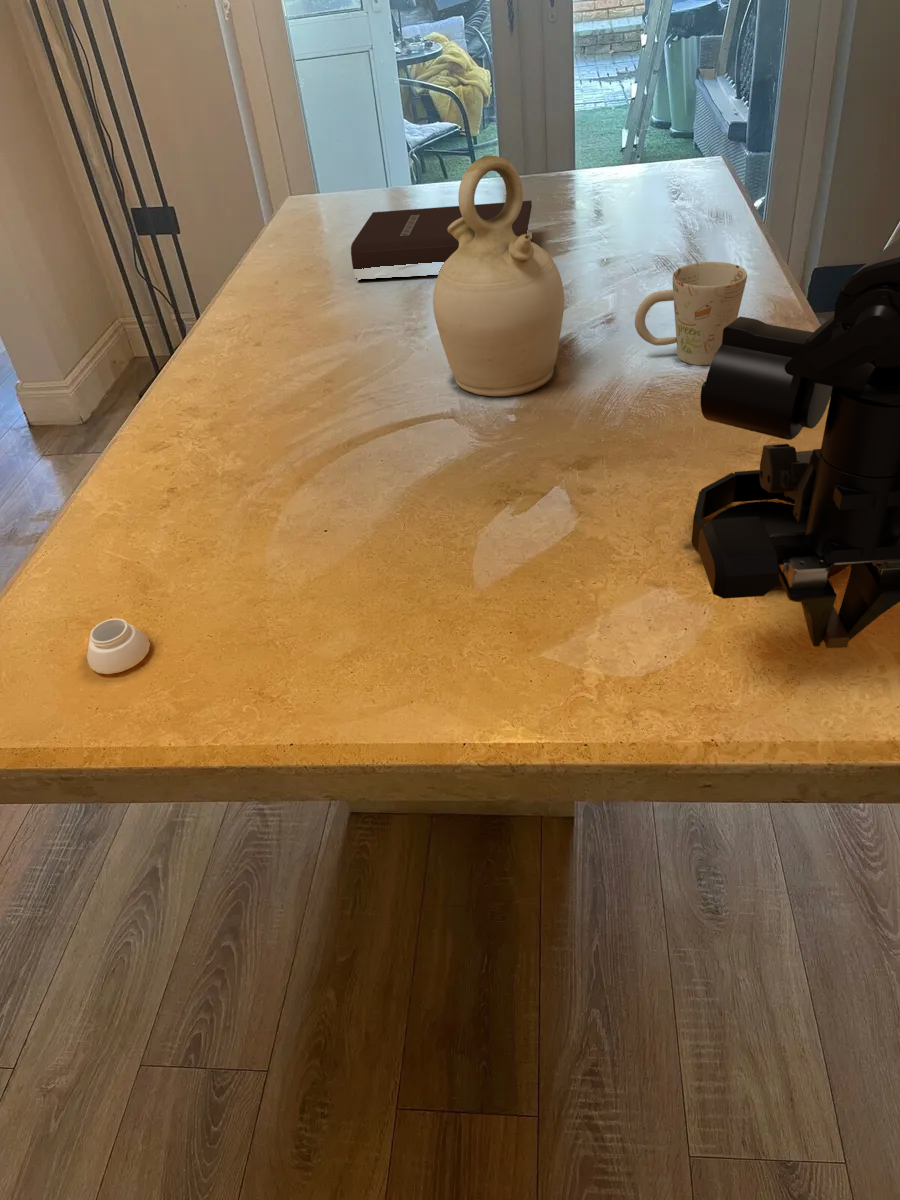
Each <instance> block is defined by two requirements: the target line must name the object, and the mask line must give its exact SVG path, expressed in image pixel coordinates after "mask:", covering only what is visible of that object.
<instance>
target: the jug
mask: <svg viewBox="0 0 900 1200" xmlns="http://www.w3.org/2000/svg"><path fill="white" fill-rule="evenodd" d="M490 172H496V173H497V174H498V175H499V176H500V177H501V178H502V180H503V183H504V186H505V205H504V207H503V209H502V211H501V212H500V213H499V214H498V215H497V216H496V217H494V218H493V219H490V220H483V219H482V218H480V216H479V215H478V213H477V211H476V208H475V205H476V203H475V195H476V191H477V188H478V185H479V183H480V181H481V180H482V179H483V178H484V176H485V175H487V174H488V173H490ZM522 182H523V181H522V180H521V177H520V174H519V172H518V171H517V169H516V168H515V166H514V165H513V164H512V163H511V162H510V161H508V160H506V159H505V158H504V157H501V156H497V155H483V156H481V157H480V158H478V159H476V160H475V161H473V162H472V163H471V164H470V165H469V166H468V168H467V169H466V170H465V172H464V174H463V176H462V177H461V181H460V183H459V188H458V197H457V198H458V201H457V202H458V206H459V208H460V212H461V215H462V217H461V218H459V219H457V220H455V221H454V222H453V223H451V224H450V225H449V227H448V232H449V233H450V234H451V235H453V236H454V238H455V239H457V240H458V242H459V247H458V249H457V250H456V251H455V252H454V253H453V254H452V255H451V256H450V257H449V258H448V259H447V260H446V261H445V262H444V264H443V265H442V267H441V269H440V271H439V274H438V276H436V277H437V278H436V280H435V284H434V287H433V292H432V293H433V294H432V309H433V315H434V320H435V324H436V327H437V331H438V334H439V338H440V342H441V345H442V347H443V350H444V353H445V356H446V359H447V363H448V365H449V368H450V371H451V373H452V375H453V377H454V378H455V382H456V384H457V386H459V387H460V388H461V389H462V390H464V391H465V392H468V393H472V394H475V395H477V396H478V395H480V396H486V397H488V396H489V397H508V396H518V395H523V394H527V393H530V392H533V391H534V390H537V389H539V388H541V387H543V386H544V385H546V384H547V383H548V382H549V381H550V380H551V379H552V377H553V375H554V370H555V368H554V367H555V364H556V361H557V358H558V353H559V347H560V340H561V339H560V338H561V333H562V326H563V319H564V313H565V289H564V284H563V280H562V276H561V274H560V271H559V269H558V267H557V265H556V263H555V262H554V260H553V258H552V257H551V255H550V254H549V253H548V252H547V251H546V250H545V249H544V248H542V247H541V246H539V245H538V244H537V243H535V242H533V241H532V242H531V238H530V236H529V235H527V234H523V235H521V236H520V237H519V236H516V235H515V234H514V232H513V230H512V224H513V222H514V221H515V220H516V218H517V217H518V215H519V213H520V210H521V207H522V202H523V201H524V189H523V183H522Z"/></svg>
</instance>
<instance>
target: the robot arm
mask: <svg viewBox="0 0 900 1200" xmlns="http://www.w3.org/2000/svg"><path fill="white" fill-rule="evenodd" d="M833 313H834V314H832V315H831V317H829V318H828V319H827V320H826V321H825V322H823V323H822V324H821V325H820V326H819V327H817V328H816V329H815V330H814V331H809V330H804V329H797V328H792V327H785V326H780V325H775V324H769V323H766V322H764V321H761V320H760V319H756V318H751V317H746V316H738V317H737V319H736V320H734V321H733V322H732V323H730V324H729V325H728V326H726V327H725V328H724V329H723V337H722V344H721V346H720V347H719V349H718V351H717V353H716V354H715V356H714V359H713V361H712V363H711V365H709V369H708V372H707V376H706V379H705V381H704V382H703V383H702V385H701V388H700V411H701V414H702V416H703V418H704V419H706V420H707V421H710V422H713V423H717V424H722V425H726V426H731V427H733V428H739V429H742V430H747V431H750V432H754V433H758V434H763V435H766V436H770V437H775V438H778V439H783V440H787V441H792V440H793V439H795V438H796V437H797V436H798V435H799V434H800V432H801V430H803V428H806V429H809V430H810V429H814V428H815V427H817V425H818V424H819V423H820V422H821V419H822V418H823V416H824V415H825V412H826V410H827V415H826V420H825V425H824V431H823V435H822V441H821V446H820V448H814V449H811V450H800V451H797V449H796V447H795V446H790V444H789V443H779V444H778V443H777V444H766V445H763V446H762V451H761V457H760V462H759V470H760V485H761V487H762V488H763V489H765V490H766V491H768V492H769V493H778V492H784V496H785V497H786V498H792V499H793V500H795V504H793V505H794V509H793V514H794V515H795V517H796V519H797V521H798V522H806V524H807V525H806V530H805V532H797V533H783V534H772V535H771V536H770V537H769V535H768V533H767V531H766V529H765V526H764V524H763V522H762V520H761V518H760V516H758V517H744V518H730V519H717V520H712V519H710V520H708V521H707V523H706V525H705V526H704V527H703V528H702V529H701V530H700V533H699V544H698V551H699V552H698V551H697V552H698V554H699V557H700V560H701V563H702V566H703V569H704V572H705V575H706V577H707V580H708V582H709V586H710V589H711V592H712V594H713V595H715V596H717V597H719V598H721V599H724V600H725V599H739V598H740V599H741V598H755V597H765V596H766V595H767V594H768V593H770V592H772V591H773V589H775V588H777V587H776V586H777V583H778V577H779V579H780V581H781V583H782V585H783V587H782V588H783V589H784V591H785V594H786V596H787V598H788V599H789V600H790V601H792V602H796V603H800V604H801V607H802V610H803V615H804V618H805V624H806V628H807V632H808V635H809V636H808V637H809V640H810V642H811V644H812V646H813V647H814V648H819V647H820V646H821V644H822V643H823V642H824V641H823V639H824V637H825V635H826V631H827V628H828V624H829V621H830V617H831V614H832V610H833V607H835V604H836V600H837V596H838V595H837V592H836V591H835V589H834V587H833V585H832V583H831V581H830V578H829V579H828V576H829V571H830V569H831V567H832V566H833V565H841V564H851V565H850V572H849V576H848V579H847V583H846V587H845V589H844V593H843V596H842V600H841V603H840V607H839V611H838V612H837V613H838V615H839V617H840V619H841V621H842V623H843V625H844V627H845V629H846V631H847V633H848V635H849V641H848V643H849V642H850V641H851V640H852V639H854V638H855V637H856V636H857V635H858V634H860V633H861V632H862V631H863V630H864V629H865V628H868V626H869V625H870V624H872V623H873V622H874V621H875V620H876V619H878V618H879V617H880V616H882V615H883V614H885V613H886V612H888V611H889V610H891V609H892V608H893V607H894V606H896V605H897V604H899V603H900V237H898V239H896V240H895V241H893V242H892V243H890V244H889V245H888V246H887V247H885V248H884V249H883V250H881V251H880V252H879V253H878V254H877V255H875V256H874V257H873V258H872V259H870V260H869V261H868V262H867V263H866V264H864V265H863V266H862V267H861V268H859V269H858V270H857V271H856V272H855V273H853V274H852V275H851V276H849V278H848V279H847V280H846V281H845V282H844V283H843V284H842V285H841V287H840V291H839V293H838V296H837V298H836V301H835V303H834V312H833ZM827 408H828V409H827Z"/></svg>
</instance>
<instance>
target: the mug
mask: <svg viewBox="0 0 900 1200" xmlns="http://www.w3.org/2000/svg"><path fill="white" fill-rule="evenodd" d="M747 278H748V272H747V270H746V269H745V268H743V267H742V266H740V265H738V264H735V263H730V262H723V261H703V262H695V263H690V264H686V265H683V266H681V267H679V268H678V269H676V270H675V271H674V272H673V273H672V289H666V290H659V291H654V292H652V293H651V294H649V295H647V296H646V297H645V298H644V299H643V300H642V301H641V303H640V304H639V305H638V308H637V310H636V312H635V316H634V328H635V330H636V333H637V334H638V336H639V337H640V338H641V339H642V340H644V341H645V342H646V343H648V344H650V345H653V346H657V347H658V346H669V345H674V344H676V353H677V354H676V355H677V358H678V359H679V360H680V361H682V362H683V363H686V364H688V365H693V366H711V363H712V361H713V359H714V356H715V354H716V353H717V351H718V349H719V347H720V346H721V344H722V337H723V329H724V328H725V327H726V326H728V325H729V324H730V323H732V322H733V321H734V320H736V319H737V318H738V317H739V313H740V308H741V304H742V300H743V296H744V292H745V287H746V283H747ZM672 301H673V311H674V312H673V313H674V325H675V336H667V337H655V336H654V335H653V334H652V333H651V332H650V331H649V329H648V328H647V324H646V317H647V315H648V312H649V310H650V309H651V308H652V307H653V306H654V305H655V304H657V303H663V302H672Z"/></svg>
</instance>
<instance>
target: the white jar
mask: <svg viewBox="0 0 900 1200" xmlns="http://www.w3.org/2000/svg"><path fill="white" fill-rule="evenodd" d="M87 646H88V647H87V648H88V649H87V654H86V661H87V663H88V666H89V668H90V669H91V670H93V671H94V672H95V673H97V674H103V675H104V674H105V675H111V674H116V673H121V672H125V671H127V670H129V669H132V668H133V667H135V666H136V665H137V664H139V663H140V662H142V661H143V660H144V658H145V657H146V656H147V655H148V653H149V651H150V646H151V643H150V641H149V639H148V636H147V634H146V633H144V632H143V631H142V630H139V629H138V628H137V627H135V626H134V625H132V624H130V623H128V622H127V621H126V620H125V619H122V618H116V617H115V618H109V619H106V620H103V621H101V622H100V623H98V624H97V625H95V626H94V627H93V628H92V630H91V631H90V634H89V642H88V645H87Z"/></svg>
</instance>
